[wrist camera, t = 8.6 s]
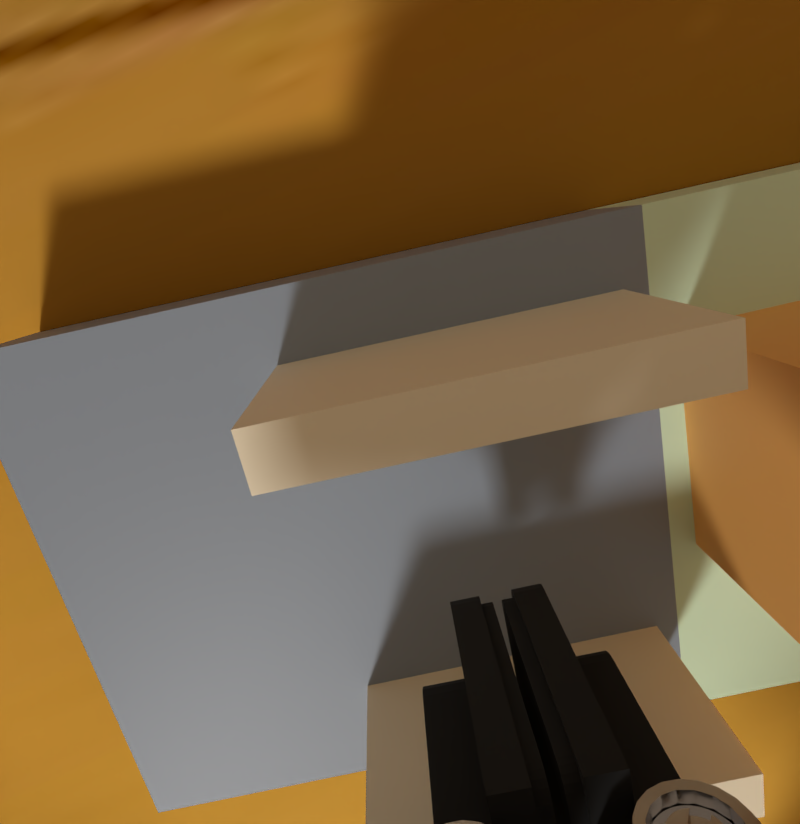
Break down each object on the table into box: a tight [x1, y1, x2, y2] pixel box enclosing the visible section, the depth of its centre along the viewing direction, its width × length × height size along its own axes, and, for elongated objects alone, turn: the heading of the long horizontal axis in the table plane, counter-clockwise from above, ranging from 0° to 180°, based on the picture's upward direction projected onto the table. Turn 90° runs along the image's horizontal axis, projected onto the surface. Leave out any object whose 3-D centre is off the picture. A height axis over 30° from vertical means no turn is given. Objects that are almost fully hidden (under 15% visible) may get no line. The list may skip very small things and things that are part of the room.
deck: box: [0, 163, 800, 824], centre depth 13 cm, size 24×12×7 cm, turn 102°
